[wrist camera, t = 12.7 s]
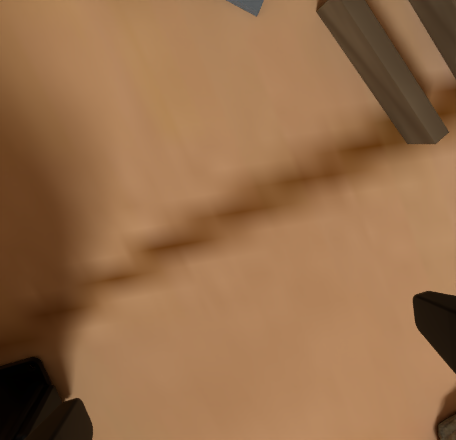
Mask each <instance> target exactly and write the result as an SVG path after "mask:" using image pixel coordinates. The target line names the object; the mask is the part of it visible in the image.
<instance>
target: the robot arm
mask: <svg viewBox="0 0 456 440" xmlns="http://www.w3.org/2000/svg"><path fill="white" fill-rule="evenodd" d="M413 308H414V317H415V323H416V326H417V328H418V330H419V331H420V332H421V334H422V335H423V336H424V337H425V338H426V340H427V341H428V342H429V343H430V344H431V345H432V347H433V348H434V349H435V350H436V351H437V353H438V354H439V355H440V356H441V357H442V358H443V360H444V361H445V362H446V363H447V364H448V366H449V367H450V368H451V369H452V370H453V371H454V373H455V374H456V296H454V295H448V294H443V293H438V292H432V291H426V292H422V293H419V294H416V295H414V297H413ZM31 364H32V365H34V366H35V367H31V366H30V365H31ZM92 437H93V426H92V422H91V420H90V418H89V415H88V413H87V411H86V408H85V406H84V404H83V402H82V400H81V399H79V398H75V399H72V400H68V401H65V402H63V403H62V401H61V399H60V397H59V395H58V392H57V390H56V388H55V386H54V385H52V383H51V381H50V379H49V377H48V374H47V372H46V370H45V368H44V366H43V363H42V361H41V360H40V359H39V358H36V357H31V358H27V359H24V360H20V361H17V362H14V363H10V364H7V365H3V366H0V440H92Z"/></svg>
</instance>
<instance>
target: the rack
mask: <svg viewBox="0 0 456 440" xmlns="http://www.w3.org/2000/svg"><path fill="white" fill-rule="evenodd" d="M409 2H410V3H411V5H412V7H413V8H414V10H415V12H416V13H417V15H418V17H419V18H420V20H421V22H422V23H423V25H424V27H425V28H426V30H427V32H428V33H429V35H430V37H431V38H432V40H433V42H434V43H435V45H436V47H437V48H438V50H439V52H440V53H441V55H442V57H443V58H444V60H445V62H446V63H447V65H448V67H449V68H450V70H451V72H452V73H453V75H454V77H455V78H456V0H409ZM316 12H317V13H318V15H319V16H320V18H321V19H322V20H323V22H324V23H325V25H326V26H327V28H328V29H329V31H330V32H331V34H332V35H333V36H334V38H335V39H336V41H337V42H338V44H339V45H340V47H341V48H342V50H343V51H344V52H345V54H346V55H347V57H348V58H349V60H350V61H351V63H352V64H353V66H354V67H355V68H356V70H357V71H358V73H359V74H360V76H361V77H362V79H363V80H364V82H365V83H366V84H367V86H368V87H369V89H370V90H371V92H372V93H373V95H374V96H375V97H376V99H377V100H378V102H379V103H380V105H381V106H382V108H383V109H384V111H385V112H386V113H387V115H388V116H389V118H390V119H391V121H392V122H393V124H394V125H395V127H396V128H397V129H398V131H399V132H400V134H401V135H402V137H403V138H404V140H405V141H406V143H407V144H436V143H437V142H439V141H440V140H441V139H442V138H443V137H444V136H445V135H446V134H448V133H449V131H448V130H447V128H446V126H445V125H444V123H443V122H442V120H441V119H440V117H439V115H438V114H437V112H436V111H435V109H434V108H433V106H432V105H431V103H430V101H429V100H428V98H427V97H426V95H425V94H424V92H423V90H422V89H421V87H420V86H419V84H418V83H417V81H416V79H415V78H414V76H413V75H412V73H411V72H410V70H409V69H408V67H407V65H406V64H405V62H404V61H403V59H402V58H401V56H400V54H399V53H398V51H397V50H396V48H395V47H394V45H393V43H392V42H391V40H390V39H389V37H388V36H387V34H386V33H385V31H384V29H383V28H382V26H381V25H380V23H379V22H378V20H377V18H376V17H375V15H374V14H373V12H372V11H371V9H370V7H369V6H368V4H367V3H366V1H365V0H328V1H327V2H326V3H325V4H324V5H323V6H322V7H321V8H319V9H318V10H317V11H316Z"/></svg>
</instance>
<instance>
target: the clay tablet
mask: <svg viewBox="0 0 456 440" xmlns="http://www.w3.org/2000/svg"><path fill="white" fill-rule="evenodd" d="M438 429H439V430H438V436H439V438H440V440H456V414H455V415H453V416H451V417H449V418H448V419H446V420H444V421H443V422H441V423H440V424H439V425H438Z"/></svg>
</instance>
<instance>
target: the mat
mask: <svg viewBox="0 0 456 440" xmlns="http://www.w3.org/2000/svg"><path fill="white" fill-rule="evenodd" d="M227 1H229V2H231V3H232V4H234V5H236V6H238V7H240V8H242V9H244V10H245V11H247V12H249V13H251V14H253V15H255V16H257V15H258V13H259V11H260V8H261V6H262V3H263V1H264V0H227Z"/></svg>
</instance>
